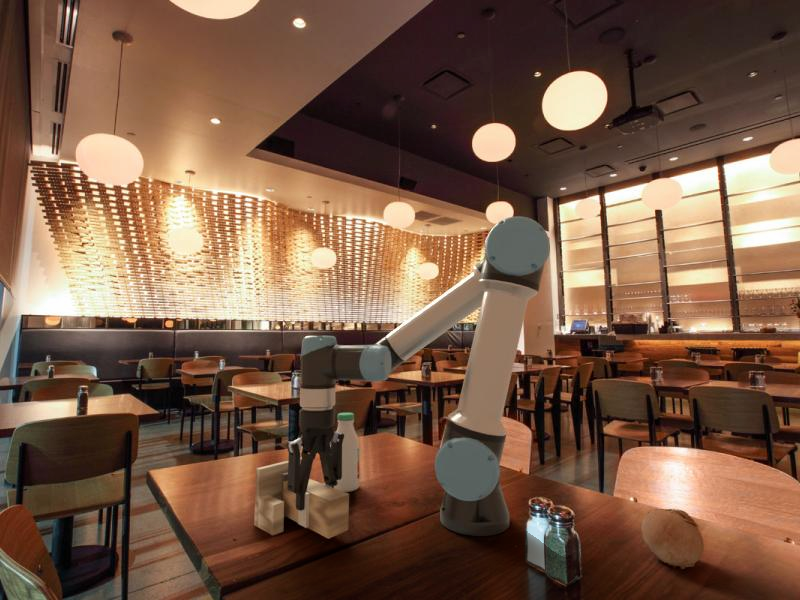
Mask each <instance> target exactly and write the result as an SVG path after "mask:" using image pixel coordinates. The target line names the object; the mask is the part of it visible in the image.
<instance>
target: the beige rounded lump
mask: <svg viewBox="0 0 800 600" xmlns="http://www.w3.org/2000/svg"><path fill="white" fill-rule="evenodd" d="M640 530H641V537H642V538H643V540H644V543H645V544H646V545H647V547H648V548H649V550H650V553H651V554H652V555H653V556H654V557H655V558H656V559H657V560H658V559H659V560H660V561H659V560H658V561H659V562H662V563H663V562H664V564H666V563H667V564H666V565H669V566H672V567H673V566H674V567H673V568H675V567H677V566H679V567H678V568H680V569H682V570H683V569H684V570H685V569H686V568H690V567H694V566H695V564H696V563H697V562H698V561H700V559H701V558H702V556H703V554H704V547H705V546H704V545H705V544H704V538H703V536H702V532H700V531H701V530H699V525H698V524H697V523H696V522H695V521H694V519H693V517H692V516H690V514H689V513H688V512H686V511H685V510H682V509H675V508H665V509H664V508H658V509H657V508H655V509H652V510H650V511H648V512H647V514H646V515H645V516H644V517H643V519H642V521H641V525H640Z"/></svg>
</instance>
